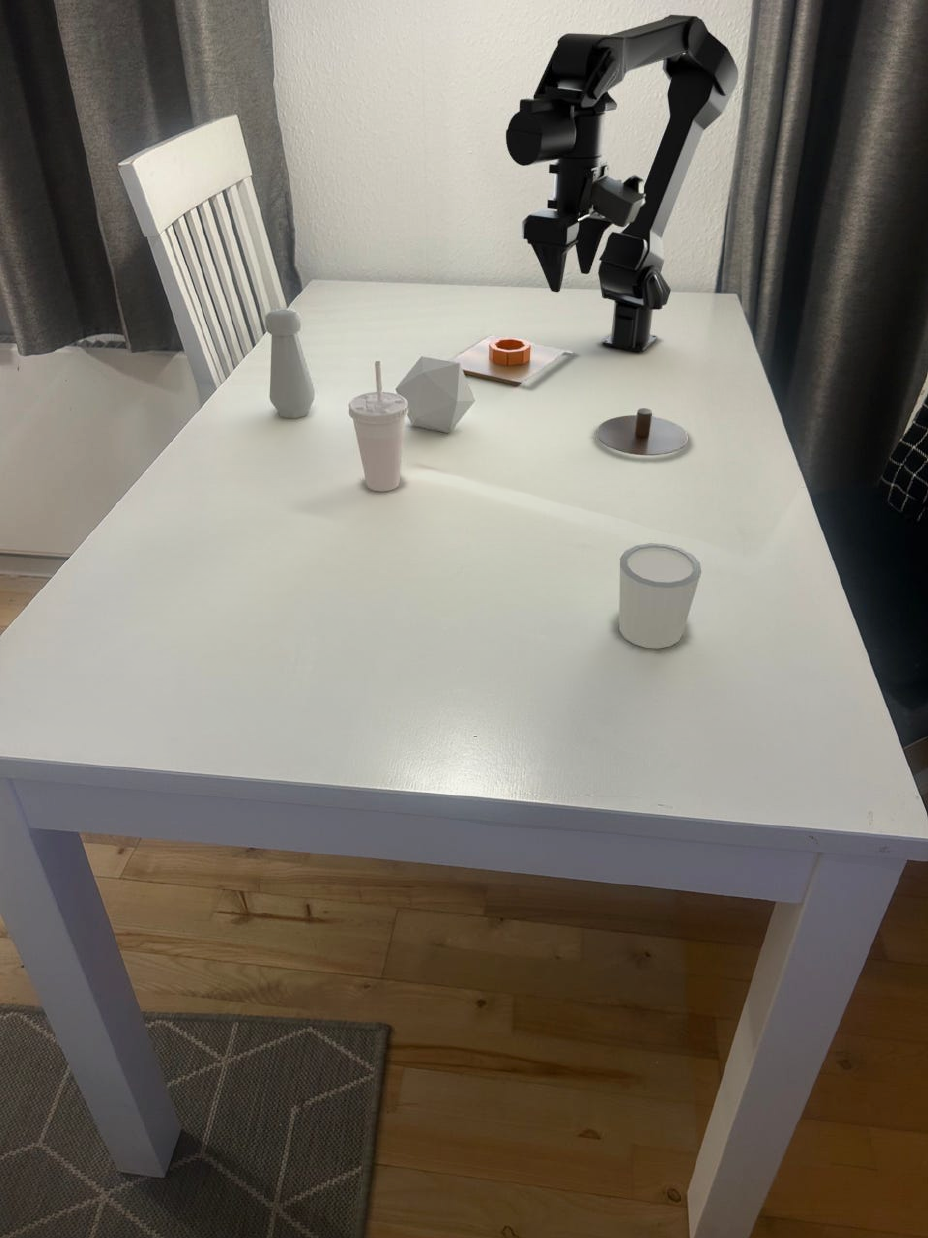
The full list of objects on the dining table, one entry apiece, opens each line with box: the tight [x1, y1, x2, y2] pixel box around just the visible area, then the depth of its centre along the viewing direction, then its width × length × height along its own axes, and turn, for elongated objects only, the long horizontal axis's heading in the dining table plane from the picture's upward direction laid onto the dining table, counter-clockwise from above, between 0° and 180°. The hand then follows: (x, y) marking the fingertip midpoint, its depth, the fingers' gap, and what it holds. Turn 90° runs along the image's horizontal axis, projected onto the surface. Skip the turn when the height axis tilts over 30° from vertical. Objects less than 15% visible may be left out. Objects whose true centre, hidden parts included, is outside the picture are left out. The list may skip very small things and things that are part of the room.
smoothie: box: [348, 360, 408, 493], centre depth 99 cm, size 6×6×14 cm
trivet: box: [449, 334, 575, 387], centre depth 132 cm, size 14×14×1 cm
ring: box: [489, 337, 531, 366], centre depth 131 cm, size 6×6×2 cm
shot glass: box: [618, 542, 702, 650], centre depth 79 cm, size 7×7×7 cm
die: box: [395, 356, 476, 434], centre depth 113 cm, size 8×9×10 cm
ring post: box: [596, 407, 689, 456], centre depth 110 cm, size 11×11×4 cm
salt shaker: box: [264, 308, 316, 420], centre depth 115 cm, size 6×6×13 cm
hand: (570, 282), depth 123 cm, fingers open, 9 cm apart
